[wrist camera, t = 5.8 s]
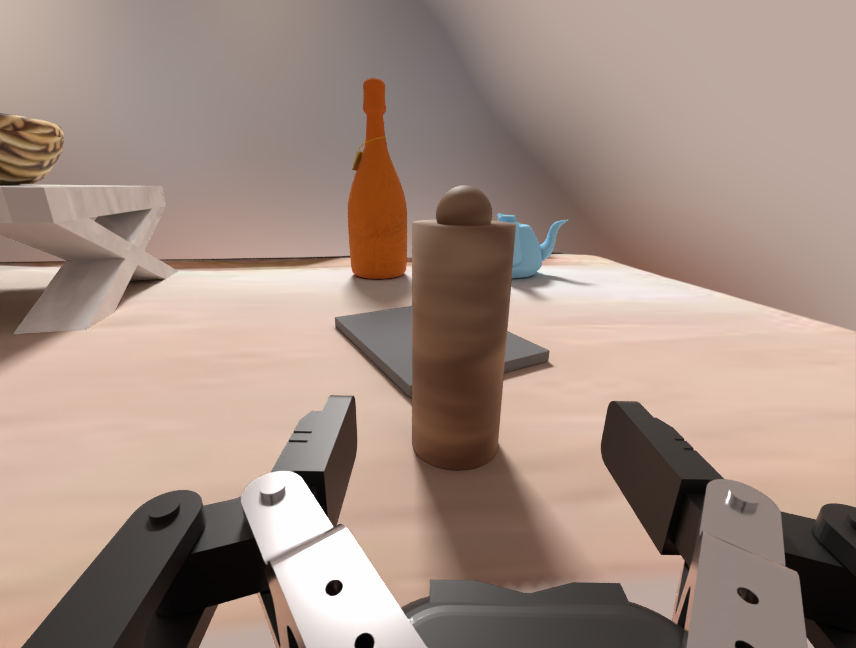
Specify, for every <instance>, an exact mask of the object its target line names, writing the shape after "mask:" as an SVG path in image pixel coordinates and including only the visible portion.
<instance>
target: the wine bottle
mask: <svg viewBox="0 0 856 648" xmlns="http://www.w3.org/2000/svg"><path fill="white" fill-rule="evenodd" d="M363 89H364V103H363V110H364V112H365V113H366V114H367V127H366V141H365V143H364V144H365V147H364V150H363V152H360V151H357V155H356V158H355V162H354V166H353V169H352V170H357V172H356V174H355V177H354V180H353V183H352V187H351V191H350V195H349V201H348V202H349V203H348V228H349V243H350V257H351V267H352V271H353V273H354V274H355V275H357V276H359V277H362V278H368V279H388V278H394V277H398V276H401V275H402V274H404V272H405V270H406V262H407V208H406V201H405V196H404V193H403V189H402V186H401V183H400V181H399V178H398V175H397V173H396V170H395V168H394V166H393V164H392V161H391V158H390V155H389V153H388V149H387V143H386V140H385V139H386V137H385V132H384V121H383V114H384V113H385V112H386V105H385V84H384V82H383V81H382V80H380V79H377V78H370V79H367V80H365V81H364V84H363ZM362 145H363V144H362ZM362 145H361V146H362ZM360 148H361V147H360ZM360 148H359V149H360Z"/></svg>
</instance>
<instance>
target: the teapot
mask: <svg viewBox="0 0 856 648" xmlns="http://www.w3.org/2000/svg"><path fill="white" fill-rule="evenodd" d="M515 218H516V216H513V215H503V214H498V221H502V222H509V223H514V224H516V231H515V243H514V256H513V268H512V278H524V277H530V276H532V275H534V274H535V273H536V272H537V271H538V270H539V269H540V267H541V265H542V261H543V260H545V259H546V258H548V257H549V256H550V254H551V253H552V251H553V248H554V245H555V240H556V235H557V232H558V230H559V228H560V227H561V225H562V224H564V223H565V222H566V221H568V220H562V221H557V222H555V223H554V224H552V226H551V227H550V229H549V233H548V236H547V238H546V240H545V242H544V243H543V244H541V245H539V243H538V240H537V238H536V236H535V234H534V232H533V230H532V229H531V227H530V226H529V225H525V224H519V222H514V221H515Z"/></svg>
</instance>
